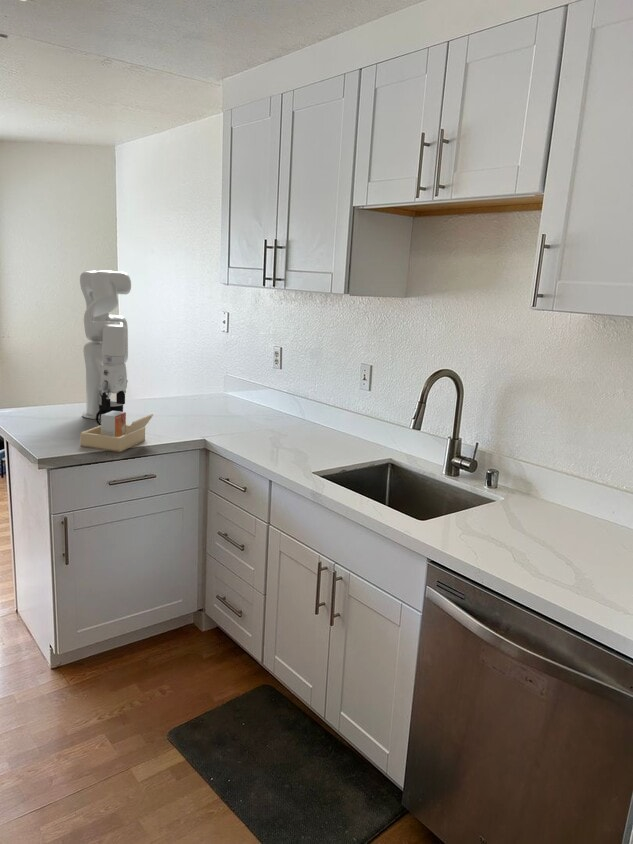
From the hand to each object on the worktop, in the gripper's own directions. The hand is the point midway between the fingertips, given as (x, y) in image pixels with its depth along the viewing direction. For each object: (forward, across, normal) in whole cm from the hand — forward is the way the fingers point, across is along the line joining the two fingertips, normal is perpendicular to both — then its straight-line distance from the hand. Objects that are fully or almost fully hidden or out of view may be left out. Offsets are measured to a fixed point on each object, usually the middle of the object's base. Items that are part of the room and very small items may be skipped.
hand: (113, 406), depth 223 cm
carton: (+13, -1, -1) cm, 13 cm away
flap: (+5, -1, -10) cm, 11 cm away
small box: (+13, -1, -1) cm, 13 cm away
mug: (+14, +15, +11) cm, 24 cm away
